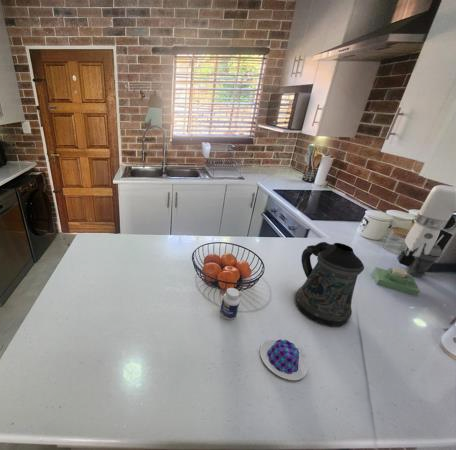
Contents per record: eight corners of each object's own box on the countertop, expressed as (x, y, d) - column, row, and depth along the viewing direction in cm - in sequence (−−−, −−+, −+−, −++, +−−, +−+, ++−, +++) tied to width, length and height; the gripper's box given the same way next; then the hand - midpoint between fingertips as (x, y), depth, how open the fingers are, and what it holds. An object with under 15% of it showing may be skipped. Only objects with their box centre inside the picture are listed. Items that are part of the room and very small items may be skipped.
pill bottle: (218, 317, 82) (223, 294, 78) (221, 306, 86) (225, 284, 82) (235, 322, 80) (241, 299, 76) (236, 310, 85) (242, 288, 80)
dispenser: (408, 284, 101) (415, 273, 98) (414, 299, 93) (423, 287, 90) (371, 274, 106) (377, 262, 103) (374, 287, 98) (381, 275, 96)
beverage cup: (401, 267, 112) (424, 228, 103) (423, 273, 108) (449, 233, 99) (404, 275, 106) (428, 234, 97) (427, 282, 103) (455, 240, 94)
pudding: (313, 386, 63) (320, 373, 60) (264, 377, 64) (269, 364, 62) (297, 345, 73) (303, 333, 71) (255, 338, 75) (259, 326, 73)
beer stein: (343, 337, 77) (378, 272, 65) (278, 304, 88) (299, 244, 77) (351, 308, 88) (382, 248, 76) (292, 283, 99) (312, 227, 88)
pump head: (403, 274, 98) (406, 270, 97) (406, 279, 95) (408, 275, 94) (390, 270, 99) (393, 266, 99) (392, 275, 96) (395, 271, 95)
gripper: (453, 232, 79) (423, 277, 87) (437, 216, 90) (411, 257, 99) (422, 225, 82) (395, 270, 91) (410, 211, 94) (388, 251, 102)
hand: (404, 263), depth 95 cm, fingers closed
